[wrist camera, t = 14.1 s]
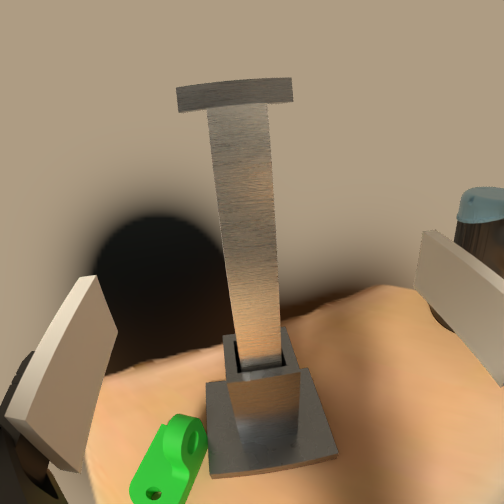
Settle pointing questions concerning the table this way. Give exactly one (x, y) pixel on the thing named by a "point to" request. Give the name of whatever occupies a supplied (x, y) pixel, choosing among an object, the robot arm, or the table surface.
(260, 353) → the column
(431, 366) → the table surface
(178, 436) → the mechanical part
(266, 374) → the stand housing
